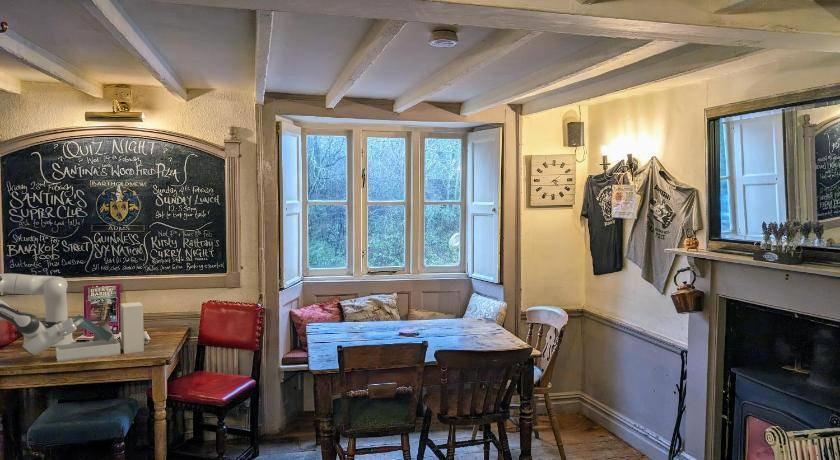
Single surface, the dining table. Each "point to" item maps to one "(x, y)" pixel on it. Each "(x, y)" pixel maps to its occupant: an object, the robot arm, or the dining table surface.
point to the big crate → (87, 350)
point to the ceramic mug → (145, 339)
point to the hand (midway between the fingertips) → (82, 318)
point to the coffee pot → (105, 326)
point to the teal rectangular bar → (94, 328)
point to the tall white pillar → (132, 327)
